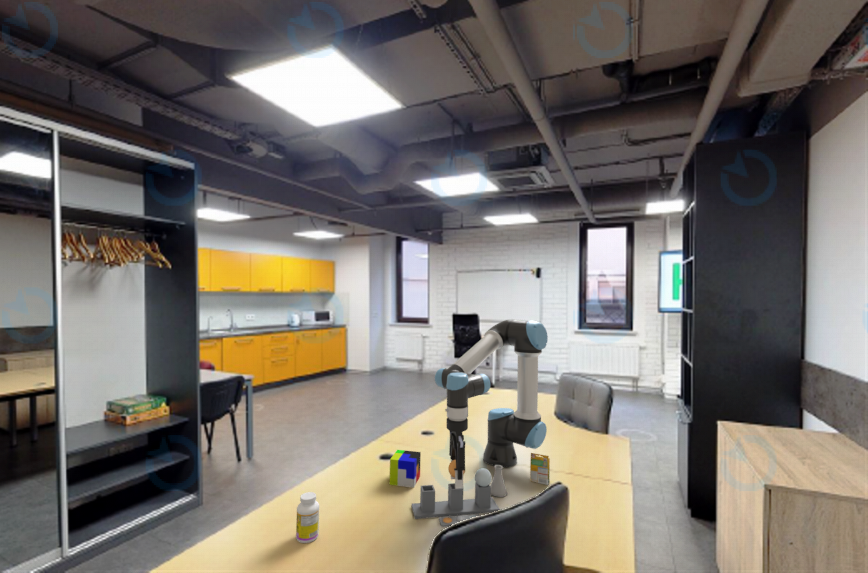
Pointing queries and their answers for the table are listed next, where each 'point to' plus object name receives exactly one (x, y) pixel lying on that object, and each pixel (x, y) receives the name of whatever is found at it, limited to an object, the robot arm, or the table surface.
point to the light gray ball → (483, 477)
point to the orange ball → (451, 468)
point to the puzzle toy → (405, 468)
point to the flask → (498, 483)
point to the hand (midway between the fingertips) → (456, 482)
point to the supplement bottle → (307, 518)
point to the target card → (454, 519)
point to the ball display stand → (453, 502)
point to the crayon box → (539, 468)
